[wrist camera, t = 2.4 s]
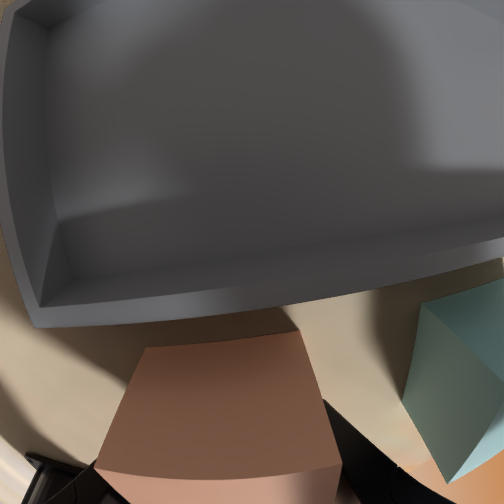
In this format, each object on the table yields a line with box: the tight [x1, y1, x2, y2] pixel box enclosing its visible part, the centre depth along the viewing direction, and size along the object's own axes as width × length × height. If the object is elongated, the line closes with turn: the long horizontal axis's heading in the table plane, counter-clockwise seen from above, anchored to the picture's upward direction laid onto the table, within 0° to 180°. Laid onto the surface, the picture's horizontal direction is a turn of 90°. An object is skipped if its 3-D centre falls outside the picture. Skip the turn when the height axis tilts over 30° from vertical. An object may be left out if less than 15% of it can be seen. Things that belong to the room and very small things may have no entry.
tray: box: [0, 0, 504, 328], centre depth 5 cm, size 18×8×2 cm, turn 98°
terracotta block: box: [94, 330, 342, 504], centre depth 6 cm, size 4×4×4 cm
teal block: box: [401, 278, 504, 484], centre depth 6 cm, size 4×4×4 cm
